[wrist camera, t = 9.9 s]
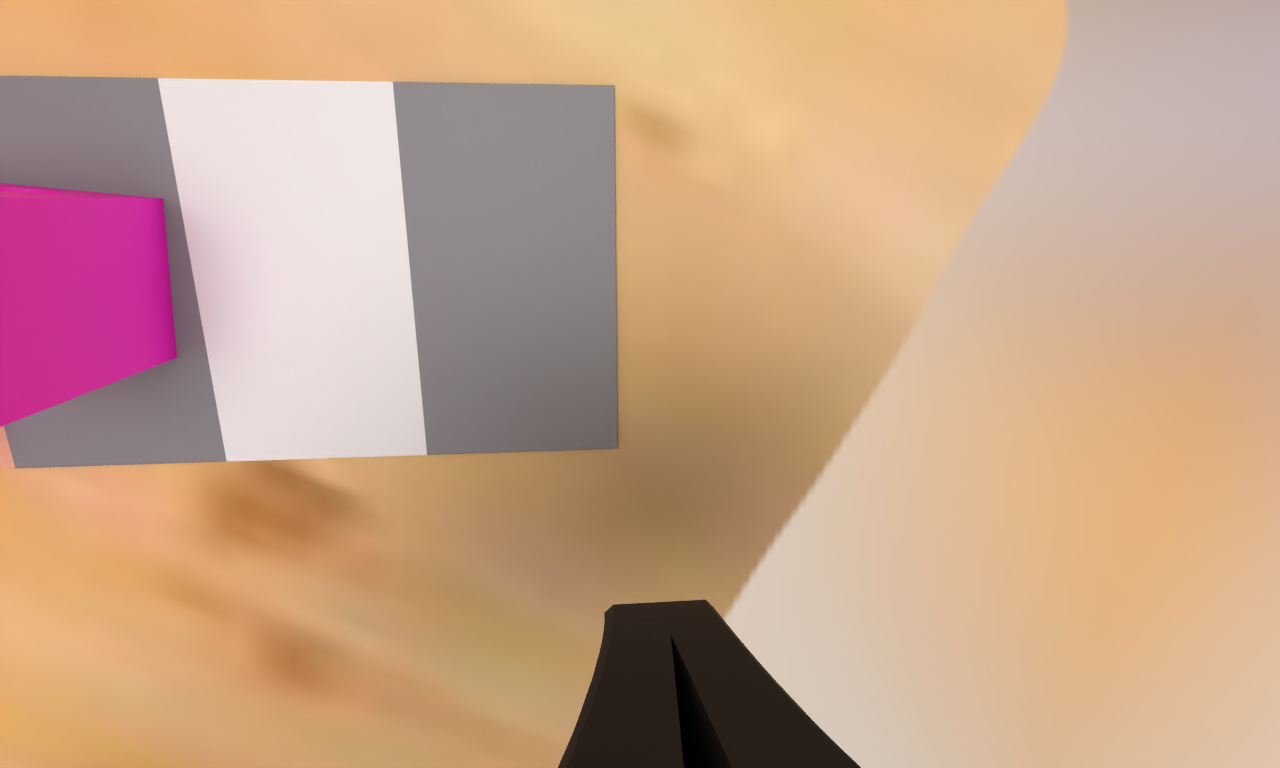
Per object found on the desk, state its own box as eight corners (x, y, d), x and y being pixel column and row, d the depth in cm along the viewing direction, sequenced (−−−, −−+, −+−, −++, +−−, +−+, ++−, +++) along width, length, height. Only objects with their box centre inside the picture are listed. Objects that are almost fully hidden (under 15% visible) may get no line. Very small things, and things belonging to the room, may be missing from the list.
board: (616, 440, 18) (617, 448, 18) (-407, 473, 16) (-444, 483, 16) (613, 89, 16) (614, 85, 15) (-591, 71, 14) (-643, 65, 13)
